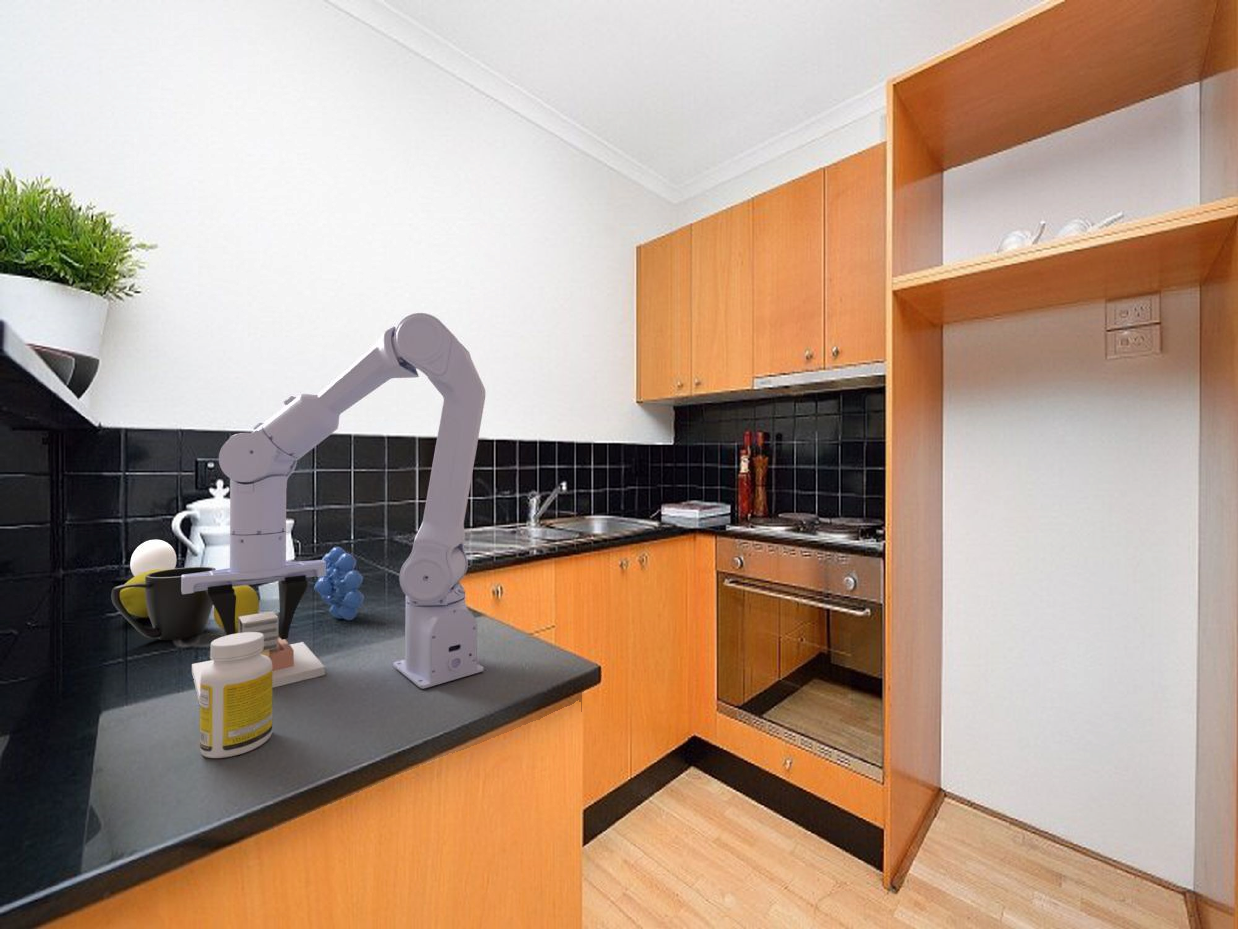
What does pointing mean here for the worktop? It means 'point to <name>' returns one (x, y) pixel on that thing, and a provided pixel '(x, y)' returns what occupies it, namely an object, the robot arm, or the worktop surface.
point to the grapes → (340, 584)
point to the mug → (169, 605)
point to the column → (262, 628)
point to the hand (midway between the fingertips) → (258, 642)
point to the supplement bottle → (236, 696)
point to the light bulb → (152, 557)
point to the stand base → (279, 665)
